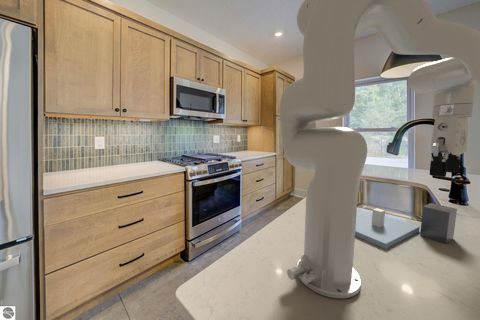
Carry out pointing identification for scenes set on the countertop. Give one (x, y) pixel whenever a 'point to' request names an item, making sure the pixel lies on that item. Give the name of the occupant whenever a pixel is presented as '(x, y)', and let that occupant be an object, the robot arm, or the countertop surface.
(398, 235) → the post board
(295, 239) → the countertop surface
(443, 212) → the grey block
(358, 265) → the countertop surface
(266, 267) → the countertop surface
